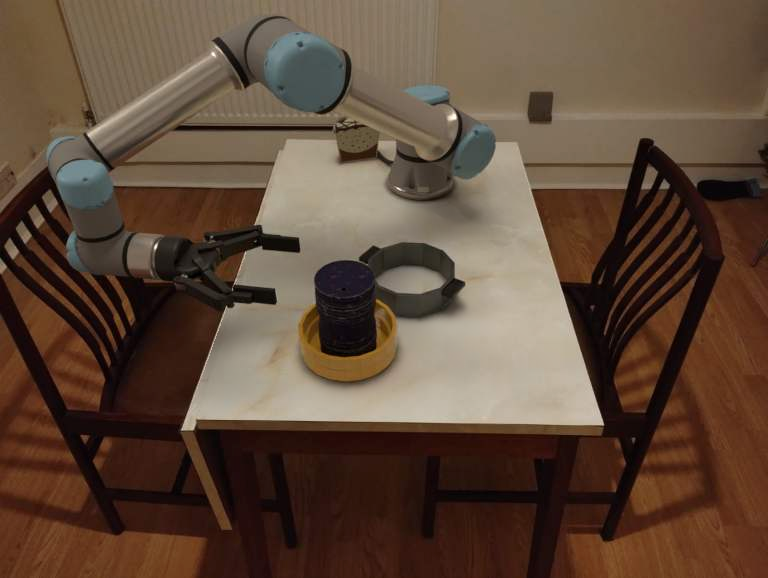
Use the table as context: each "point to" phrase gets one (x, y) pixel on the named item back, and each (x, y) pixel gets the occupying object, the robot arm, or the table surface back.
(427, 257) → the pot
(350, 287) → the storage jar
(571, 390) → the table surface
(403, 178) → the robot arm
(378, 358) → the bowl
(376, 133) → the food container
